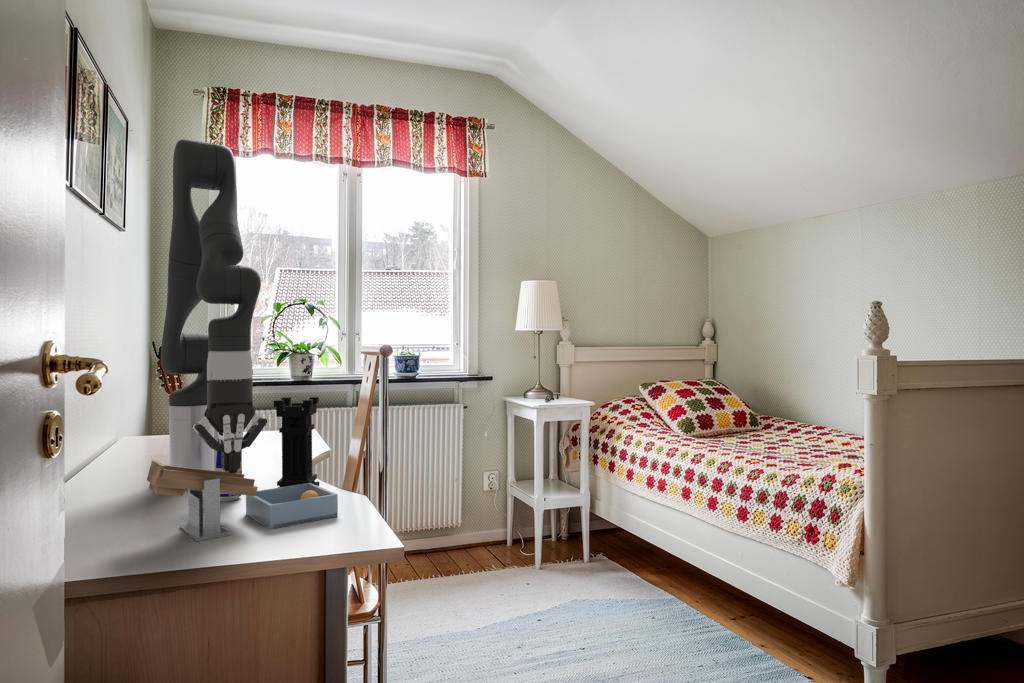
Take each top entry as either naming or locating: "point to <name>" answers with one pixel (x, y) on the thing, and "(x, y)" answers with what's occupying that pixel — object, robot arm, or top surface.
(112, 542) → the top surface
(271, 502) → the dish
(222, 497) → the beverage can
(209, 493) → the fulcrum
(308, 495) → the ball
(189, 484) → the lever
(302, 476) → the chess piece
